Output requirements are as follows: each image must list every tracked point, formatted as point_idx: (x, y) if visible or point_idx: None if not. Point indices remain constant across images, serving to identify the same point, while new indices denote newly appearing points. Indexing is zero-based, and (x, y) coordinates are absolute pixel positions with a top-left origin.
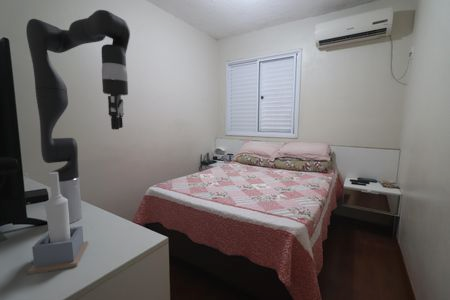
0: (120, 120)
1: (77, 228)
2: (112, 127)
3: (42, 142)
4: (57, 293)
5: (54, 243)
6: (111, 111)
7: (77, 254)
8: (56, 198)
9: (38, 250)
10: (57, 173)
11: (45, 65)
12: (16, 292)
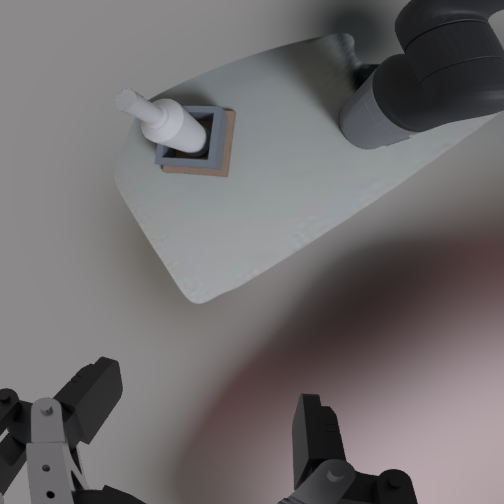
0: (297, 462)
1: (206, 160)
2: (99, 365)
3: None
4: (119, 163)
5: None
6: (36, 439)
7: (186, 167)
8: (145, 122)
9: None
10: (122, 111)
11: None
12: None
